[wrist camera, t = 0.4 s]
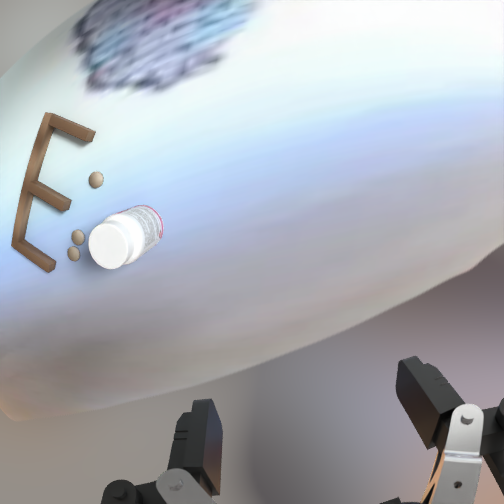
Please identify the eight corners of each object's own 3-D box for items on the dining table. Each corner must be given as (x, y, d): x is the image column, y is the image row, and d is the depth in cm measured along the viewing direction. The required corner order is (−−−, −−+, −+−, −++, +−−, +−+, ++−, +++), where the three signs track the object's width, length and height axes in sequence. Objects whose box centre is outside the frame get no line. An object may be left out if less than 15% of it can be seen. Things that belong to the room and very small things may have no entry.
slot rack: (52, 113, 28) (45, 112, 27) (118, 141, 29) (112, 141, 28) (17, 243, 33) (11, 246, 32) (73, 281, 34) (67, 285, 33)
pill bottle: (137, 195, 31) (98, 207, 23) (172, 221, 32) (142, 240, 23) (117, 231, 32) (77, 252, 24) (150, 256, 33) (117, 284, 25)
